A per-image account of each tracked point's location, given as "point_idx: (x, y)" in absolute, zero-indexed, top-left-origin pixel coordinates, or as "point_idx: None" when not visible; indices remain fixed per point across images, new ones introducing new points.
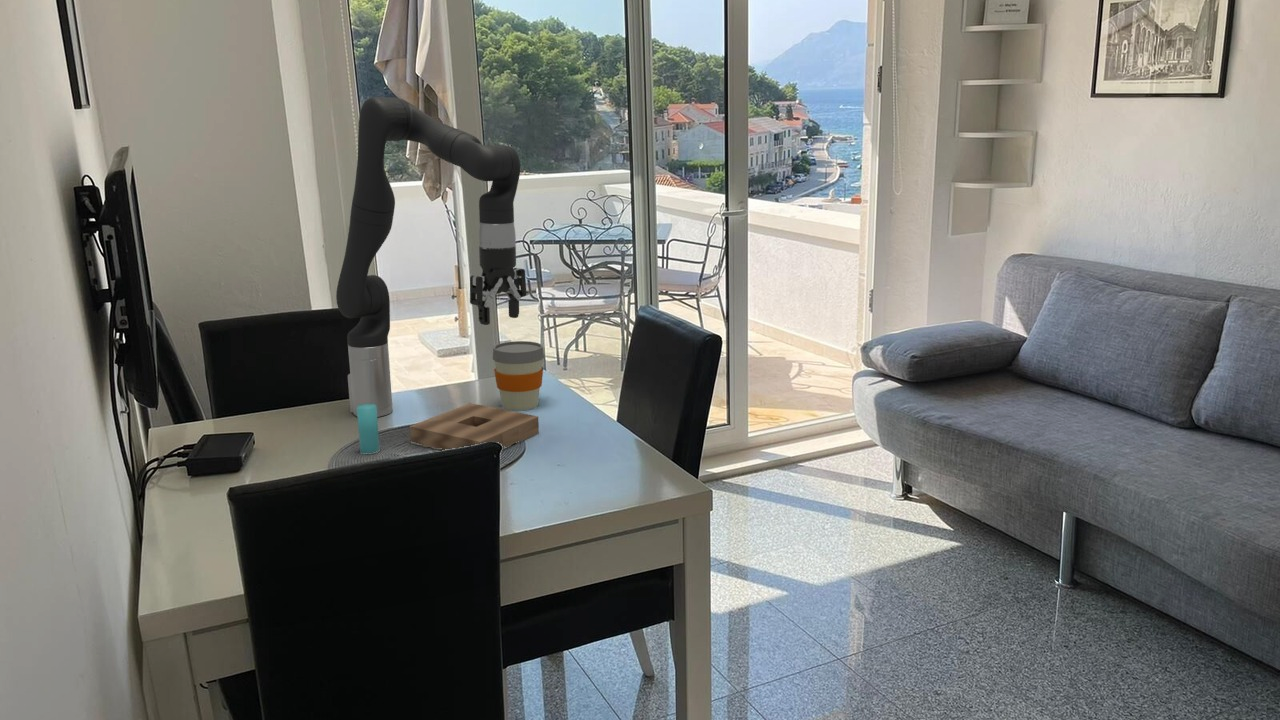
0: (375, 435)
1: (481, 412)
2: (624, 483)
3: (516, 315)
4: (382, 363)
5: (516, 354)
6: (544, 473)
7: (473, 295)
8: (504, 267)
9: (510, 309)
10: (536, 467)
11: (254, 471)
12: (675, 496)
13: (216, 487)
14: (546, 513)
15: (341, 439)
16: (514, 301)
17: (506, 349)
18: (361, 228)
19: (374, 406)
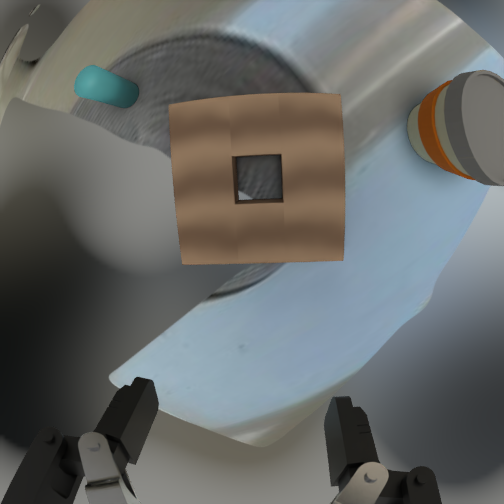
0: (113, 103)
1: (307, 151)
2: (239, 411)
3: (326, 431)
4: None
5: (469, 152)
6: (209, 347)
7: (41, 467)
8: None
9: (336, 430)
10: (217, 330)
11: (39, 73)
12: (241, 441)
13: (11, 94)
14: None
15: (143, 27)
16: (333, 481)
17: (486, 101)
18: None
19: (93, 88)
